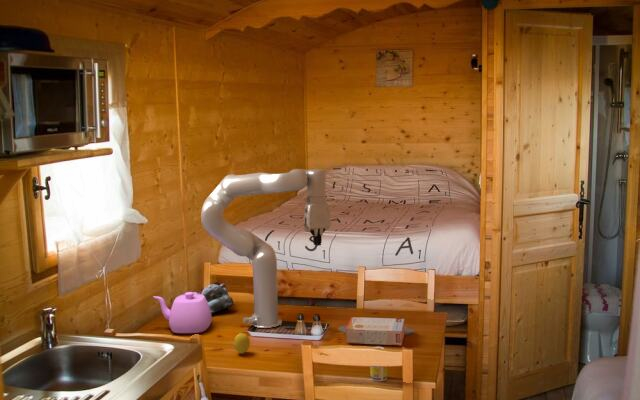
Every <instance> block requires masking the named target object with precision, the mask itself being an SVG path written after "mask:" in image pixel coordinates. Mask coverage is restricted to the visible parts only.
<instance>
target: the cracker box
mask: <svg viewBox="0 0 640 400" xmlns="http://www.w3.org/2000/svg"><path fill="white" fill-rule="evenodd" d="M405 322H406V321H405V318H387V317H385V318H383V317H362V316H360V317H358V316H355V317H354V316H351V317H350V319H349V322H348V324H347V325H346V326H347V328H346V333H345V342H346V344H365V345H387V346H403V341H404V336H405V335H404V332H405V327H406V326H405Z"/></svg>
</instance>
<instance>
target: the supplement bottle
mask: <svg viewBox="0 0 640 400" xmlns="http://www.w3.org/2000/svg"><path fill="white" fill-rule="evenodd" d="M373 348H381V349H385V348H384V347H382V346H373ZM369 370H370V373H369V375H370V379H371V380H372V381H374V382H384V381H386V380H387V379H388V366H387V367H377V366H370V365H369Z"/></svg>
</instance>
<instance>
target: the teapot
mask: <svg viewBox="0 0 640 400" xmlns="http://www.w3.org/2000/svg"><path fill="white" fill-rule="evenodd" d="M198 293H199V292H196V291H193V292H192V291H187V292H185V293H184V294H180V295H178V296H177V297H175V299H174V301H173V303H172V305H171V308H170V309H169V308H168V307H167V304H166V300H165V299H164V298H163V297H161V296H158V295H157V296H156V295H154V296H152V297H153V298H155V299H156V300H157V301H158V302H159V303H158V304H159V305H160V308H161V309H160V310H161V312H162V315H163V316H164V318H165V319H166V320H168V326H169V328H170V329H171V331H172V332H173V333H174V334H175V333H176V334H200V333H202V332H204V331H206V330H208V328H209V327H210V325H211V322H212V320H213V317H212V314H211V311H210V307H209V305H208V302H207V300H206V298H205V296H204V295H202V294H198Z"/></svg>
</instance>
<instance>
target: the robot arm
mask: <svg viewBox="0 0 640 400" xmlns="http://www.w3.org/2000/svg"><path fill="white" fill-rule="evenodd" d="M326 182H327V181H326V171H325V170H324V169H321V168H312V169H301V168H294V169H291V170H290V171H289V172H282V173H268V172H254V173H247V174H239V175H236V174H232V173H231V174H228V175H226V176H224V178H222V180H221V181H220V182H219V184H218V185H217V186H216V187H215V188H214V189H213V191H212V192H211V193H210V194H209V195H208V196H207V198H206V199H205V200H204V202H203V205H202V207H201V212H200V221H201V225H202V227H203V229H204V231H205V232H206V234H208V235H209V236H210V237H211V238H213V239H215V240H216V241H217V242H218V243H220V244H221V245H222V246H224V247H225V248H227V249H229V251H231V252H233V254H235V255H237V256H238V257H246V258H248V259H249V260H250V261H252V281H253V282H252V284H253V310H254V313H252V314H251V315H250V317H247V316H246V317H243V318H242V320H243V323H248V324H250V325H254V326H255V327H257V328H256V329H258V328H271V327H276V326H279V325H280V326H282V324H283V321H282V319H281V318H279V308H278V307H279V306H278V305H279V304H278V303H279V301H278V281H277V280H278V275H277V273H278V272H277V271H278V270H277V269H278V261H277V256H276V255H277V254H276V252H275V250H274V248H273V247H272V245H270V244H269V243H267V242H266V241H265V240H263V239H262V238H260V237H258V236H257V235H255V234H254V233H253V232H251V231H249V230H248V229H244V228H242V229H239V228H237V227H236V226H234V225H233V224H231V223H230V222H229V221H227V220H225V218H224V217H223V215H224V211H225V209H226V208H227V207H229V205H230V204H231V203H232V202H233V201H234V199H235V198H239V197H240V198H242V197H247V196H248V197H249V196H257V195H258V196H259V195H268V194H280V193H281V194H282V193H289V192H291V193H292V192H297V191H301V190H303V189H305V188H306V197H305V198H304V199H303V202H306V203H305V206H304V215H303V224H304V225H303V226H304V232H306V233H310V234H311V235H312V241H313V245H314V246H317V247H318V246H322V242H323V241H322V240H323V239H322V236H323V234H324V233H325V231H328V230H330V227H331V225H332V224H331V223H332V221H331V214H330V213H331V211H330V205H329V203H328V202H327V195H326V194H327V190H326V187H327V186H326V185H327V184H326ZM280 326H279V327H280ZM276 328H277V327H276ZM271 329H272V328H271Z"/></svg>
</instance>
